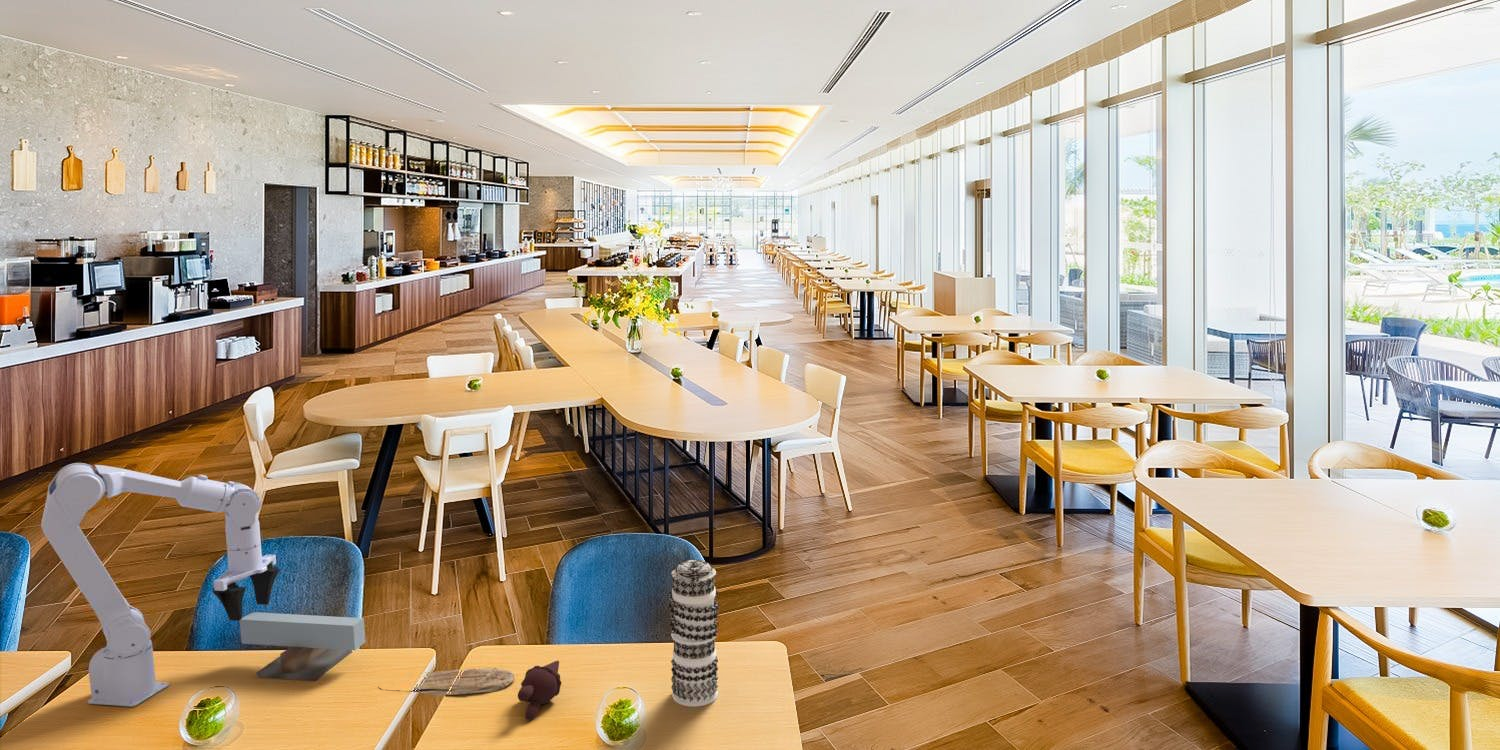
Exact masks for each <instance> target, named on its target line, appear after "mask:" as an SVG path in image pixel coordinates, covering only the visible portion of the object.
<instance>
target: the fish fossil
mask: <svg viewBox="0 0 1500 750" xmlns="http://www.w3.org/2000/svg"><path fill="white" fill-rule="evenodd" d="M460 670H461V672H462V671H463V670H464V672H463V673H462V675H461V672H460V674H459V675H458V673H459V671H460ZM430 672H431V673H430ZM430 672H428V673H427V672H426V673H427V674H426V676H428V674H429V673H430V674H429V676H428V677H427V678H426V677H424V676H423V677H424V679H423V680H422V681H421V683H420V684H419V686H418V684H417V685H416V687H415V688H414V690H413V692H420V693H421V694H422V695H430V696H434V697H435V696H455V695H456V696H457V695H464V694H466V695H467V694H478V693H489V692H490V693H491V692H497V691H501V690H503V689H505V688H506V687H508V685H510V684H511V683H513V682H514V681H515V675H514V673H513V672H512V671H511V670H506V669H501V668H500V669H498V668H496V667H493V668H488V667H487V668H483V669H475V668H472V669H471V668H468V669H454V670H452V669H451V670H441V671H440V670H437V671H433V672H432V671H430ZM457 675H458V677H457V679H456V681H455V682H454V680H455V678H456V676H457ZM459 676H460V679H459ZM424 680H425V682H424V683H423V681H424ZM453 682H454V684H453ZM422 683H423V685H421V684H422ZM452 684H453V685H452ZM417 686H418V687H417ZM451 686H452V688H451V690H450V691H449V689H450V687H451ZM419 688H420V690H419ZM416 689H417V690H416ZM415 690H416V691H415ZM418 690H419V691H418ZM448 691H449V693H448V695H447V692H448ZM450 692H451V694H450Z"/></svg>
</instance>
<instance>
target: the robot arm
mask: <svg viewBox="0 0 1500 750" xmlns="http://www.w3.org/2000/svg"><path fill="white" fill-rule="evenodd" d="M208 478H209V477H208V475H204V474H198V476H197V477H196V476H189V477H187V478H185V479H183V480H177V479H172V478H167V477H163V476H158V475H152V474H149V473H144V472H139V471H134V470H131V469H125V468H121V467H114V466H109V465H102V464H94V466H92V465H91V464H88V463H83V462H74V463H70V464H67V465H65V466H63V467H61V468H60V469H59V470H58V472H57V473H56V475H55V476H54V477H53V479H52V480H51V482H49V484H48V487H47V495H46V500H45V504H44V508H43V509H44V510H43V513H42V518H41V522H40V523H41V524H40V525H41V530H42V533H43V534H44V536H45V537H46V539H47V540H48V542H49V544H50V545H51V547H52V548H53V549H54V552H55V553H56V554H57V556H58V557H59V560H60V561H61V562H62V564H63V565H64V567H65V568H66V570H67V571H68V573H69V574H70V576H71V577H72V579H73V580H74V582H75V583H76V586H77V587H78V588H79V590H80V591H81V593H82V595H83V596H84V597H85V600H87V602H88V603H89V606H90V607H91V609H92V610H93V611H94V613H95V615H96V617H97V618H98V621H99V623H100V625H101V630H102V633H103V634H104V636H105V639H106V646H105V647H102V648H100V649H98V650H97V651H96V652H95V653H94V654H93V656H92V657H91V658H90V661H89V665H88V675H89V684H90V685H89V686H90V694H91V698H90V699H89V700H87V703H88V704H91V705H105V706H116V707H131V708H132V707H133V708H134V707H136V706H137V705H139V704H140V703H143V702H144V701H146V700H147V699H149V698H150V697H152V696H154V695H155V694H157V693H158V692H160V691H162V690H163V689H165V688H167V687H168V686H169V682H165V681H164V682H163V681H162V682H161V681H157V678H156V669H155V660H154V659H155V658H154V652H153V651H154V649H153V641H152V639H151V630H150V629H151V628H150V627H148V625H147V624H146V621H145V618H144V614H143V613H142V612H141V611H140V610H139V609H138V608H136V607H134V606H132V605H130V603H129V602H128V601H127V599H126V598H125V597H124V595H123V594H122V592H121V590H120V589H119V588H118V587H117V585H116V583H115V582H114V580H113V578H112V577H111V575H110V573H109V572H108V570H107V569H106V567H105V565H104V564H103V562H102V561H101V559H100V558H99V556H98V555H97V553H96V551H95V549H94V548H93V546H92V545H91V544H90V542H89V539H87V536H86V535H85V533H84V532H83V531H82V529H81V527H80V524H81V523H82V521H83V519H84V517H85V516H86V513H87V512H88V511H89V510H90V509H91V508H92V507H93V506H95V505H96V504H97V503H98V502H99V501H100V500H101V499H102V497H103V496H104V495H105V496H106V498H107V499H110V498H113V497H115V496H118V495H120V494H122V493H123V494H124V493H126V492H128V493H134V494H135V493H136V494H143V495H150V496H156V497H164V498H169V499H170V498H171V499H175V500H176V502H177V503H178V505H179V506H180V507H184V508H191V509H196V510H201V511H207V512H213V513H222V512H224V515H225V516H224V517H225V526H224V529H225V538H226V539H225V540H226V551H227V552H226V554H227V565H228V569H227V570H226V571H225V572H223V573H222V574H221V575H220V576H219V577H218V578H216V579H214V580H213V587H212V593H213V594H214V596H215V597H217V599H218V600H219V601H220V603H221V604H222V606H223V608H224V610H225V612H226V615H227V617H228V620H229V621H232V622H233V621H236V622H238V621H239V622H240V620H241V619H242V618H243V598H244V595H245V592H246V589H247V587H246V586H239V585H238V584H237V583H238V582H240V581H242V580H244V579H246V578H248V577H250V580H251V582H252V586H253V591H254V597H255V602H256V604H257V605H260V606H261V605H265V606H267V605H269V603H270V598H271V595H272V590H273V585H274V582H275V580H276V578H277V575H278V574H279V572H280V569H279V566H276V565H277V559H276V558H277V557H276V554H265V555H263V554H262V553H263V552H262V541H261V539H262V538H261V531H260V530H261V528H260V521H259V511H260V509H261V507H262V501H261V500H260V496H259V495H258V493H257V492H256V491H255V490H253V489H252V488H251V487H250V486H248V485H246V484H243V483H241V482H235V481H230V480H228V481H227V482H223V481H219V480H213V479H208ZM274 565H275V566H274Z"/></svg>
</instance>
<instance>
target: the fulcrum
mask: <svg viewBox="0 0 1500 750" xmlns="http://www.w3.org/2000/svg"><path fill="white" fill-rule="evenodd" d="M352 653H353V650H342V649H325V648H309V647H292V646H289V648H286V649H285V650H284V651H282V652H281V653H280V654H279V656H278V657H277V658H275V659H274V660H272V661H271V662H269V663H268V664H266V665H265V666H264V667H262V668H261V669H259V670H258V671H257V672H256V678H262V679H263V678H265V679H279V680H295V681H307V682H309V681H311V682H315V681H317V680H318V679H320V677H321V676H323V675H325V674H326V673H327V672H328V671H330V670H331V669H332V668H333V667H335V666H336V665H338V664H339V663H340V662H342V660H344V659H345V658H346V657H348V656H349V655H351V654H352ZM329 669H330V670H329ZM325 672H326V673H325Z"/></svg>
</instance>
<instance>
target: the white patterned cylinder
mask: <svg viewBox="0 0 1500 750" xmlns="http://www.w3.org/2000/svg"><path fill="white" fill-rule="evenodd" d="M716 575H717V571H716V569H715V568H713V567H712V566H711V565H710V564H709V563H708V562H706V561H704V560H700V559H691V560H685V561H682V562H681V563H679V564H678V565H677V567H676V568H675V569H673V570H672V571H671V576H672V588H671V591H670V592H669V594H668V597H667V599H668V600H669V604H668V605H667V606H668V607H669V611H670V614H669V616H668V617H669V619H670V622H669V626H670V630H672V631H671V633H670V634H671V637H672V640H673V651H672V659H671V661H670V662H671V663H670V664H671V666H672V667H671V672H672V673H671V674H672V676H671V678H670V680H671V682H672V685H671V690H672V694H671V696H672V698H673V702H676V703H677V704H678V705H680V706H683V707H684V706H685V707H695V708H696V707H701V706H707V705H708V704H711V703H713V702H714V701H715V700H716V699H717V698H718V694H719V691H718V687H719V684H718V680H719V677H718V672H717V671H718V670H719V667H718V665H717V663H718V662H719V659H718V656H717V648H716V646H715V645H716V640H715V639H716V638H717V636H718V633H719V630H718V629H717V628H718V625H719V621H717V619H718V617H719V614H720V612H719V611H718V609H719V606H720V603H719V602H718V601H717V600H715V599H716V596H718V594H719V591H718V590H716V586H715V576H716ZM716 618H717V619H716Z"/></svg>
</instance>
